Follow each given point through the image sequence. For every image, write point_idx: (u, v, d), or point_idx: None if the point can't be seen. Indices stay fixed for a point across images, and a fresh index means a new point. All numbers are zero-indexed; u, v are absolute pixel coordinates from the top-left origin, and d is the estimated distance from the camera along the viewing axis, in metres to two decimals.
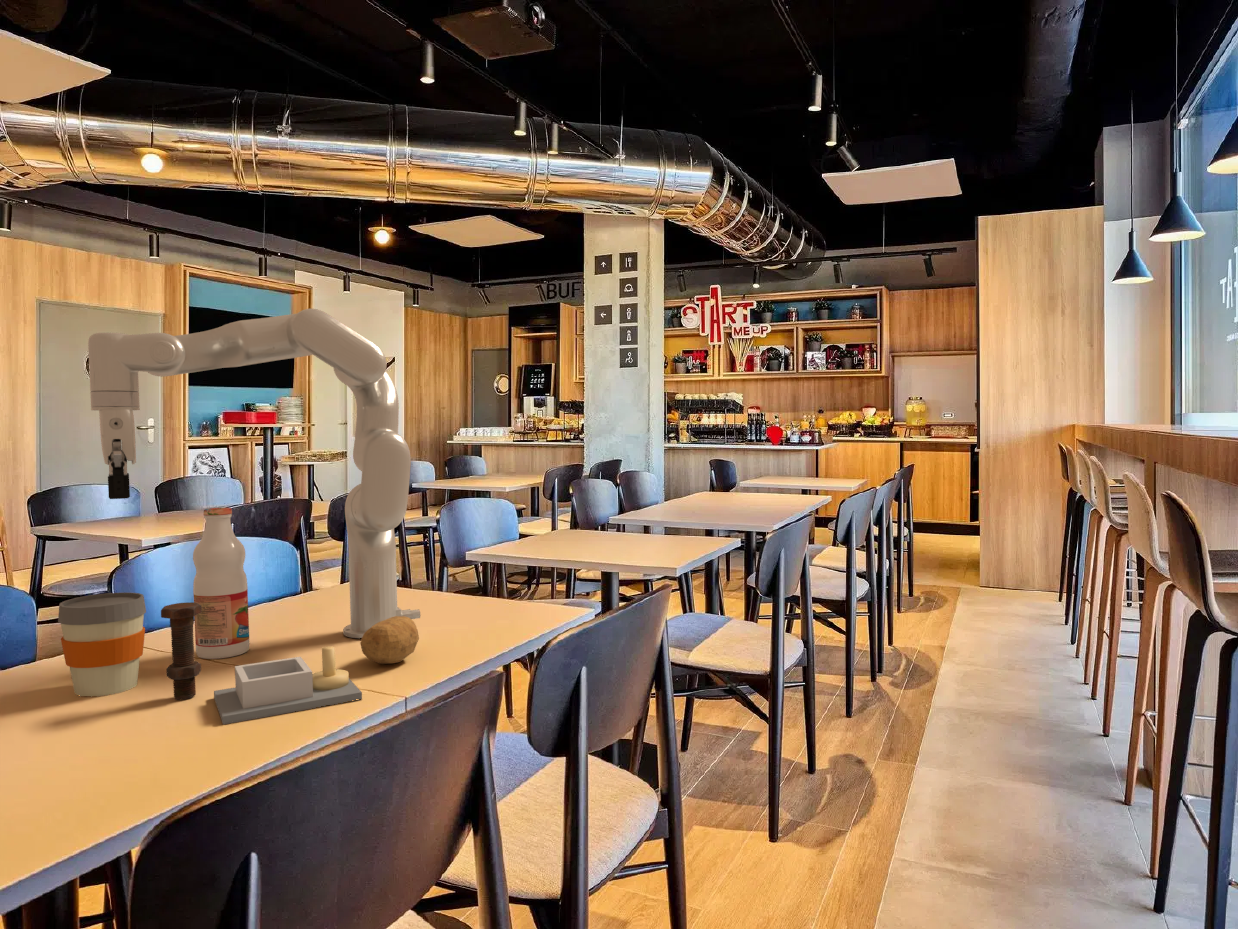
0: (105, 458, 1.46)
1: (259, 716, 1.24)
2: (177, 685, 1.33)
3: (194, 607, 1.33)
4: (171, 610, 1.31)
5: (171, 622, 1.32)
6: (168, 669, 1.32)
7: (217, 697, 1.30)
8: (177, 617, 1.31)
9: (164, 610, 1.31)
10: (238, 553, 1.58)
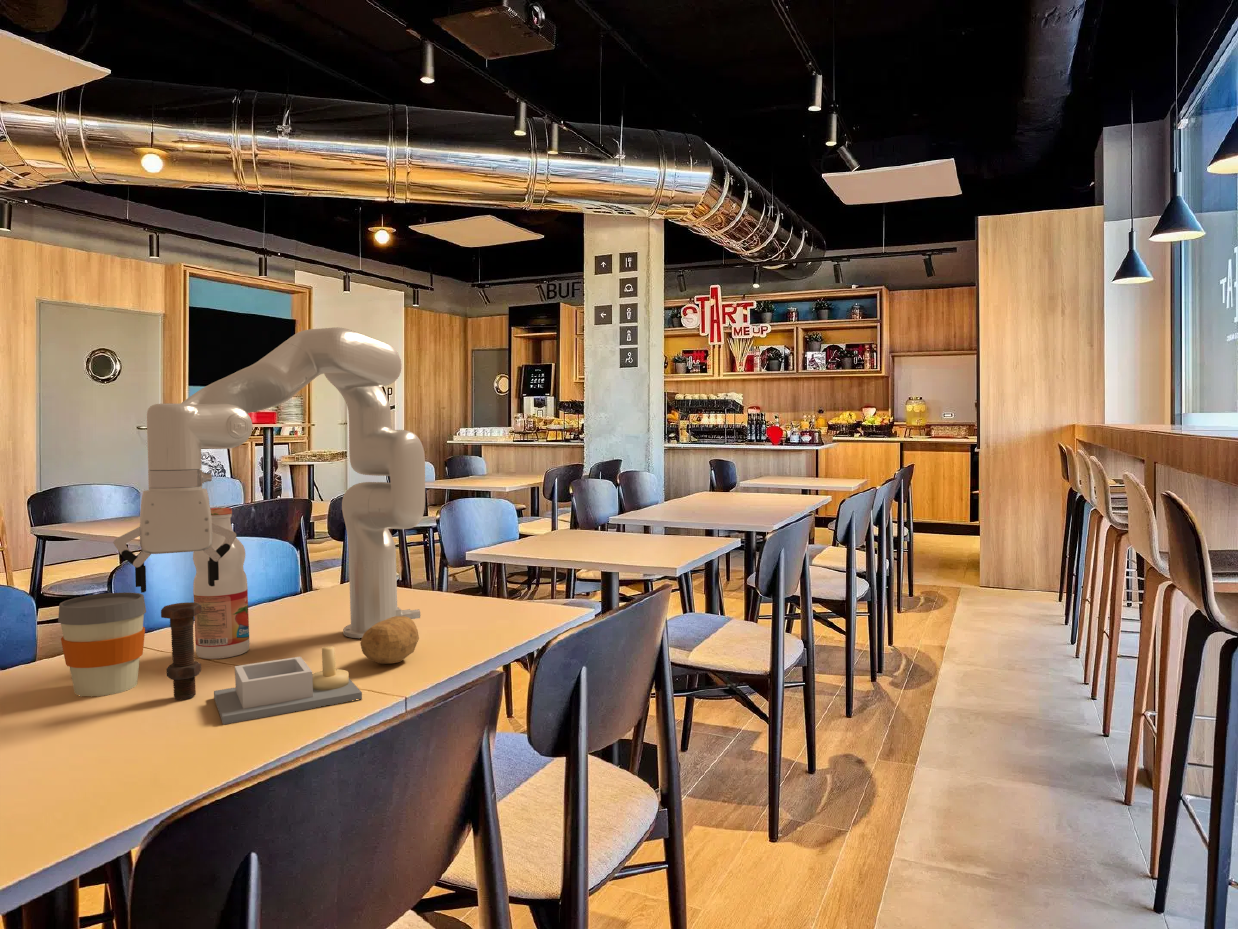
0: (210, 542, 1.33)
1: (259, 716, 1.24)
2: (177, 685, 1.33)
3: (194, 607, 1.33)
4: (171, 610, 1.31)
5: (171, 622, 1.32)
6: (168, 669, 1.32)
7: (217, 697, 1.30)
8: (177, 617, 1.31)
9: (164, 610, 1.31)
10: (238, 553, 1.58)
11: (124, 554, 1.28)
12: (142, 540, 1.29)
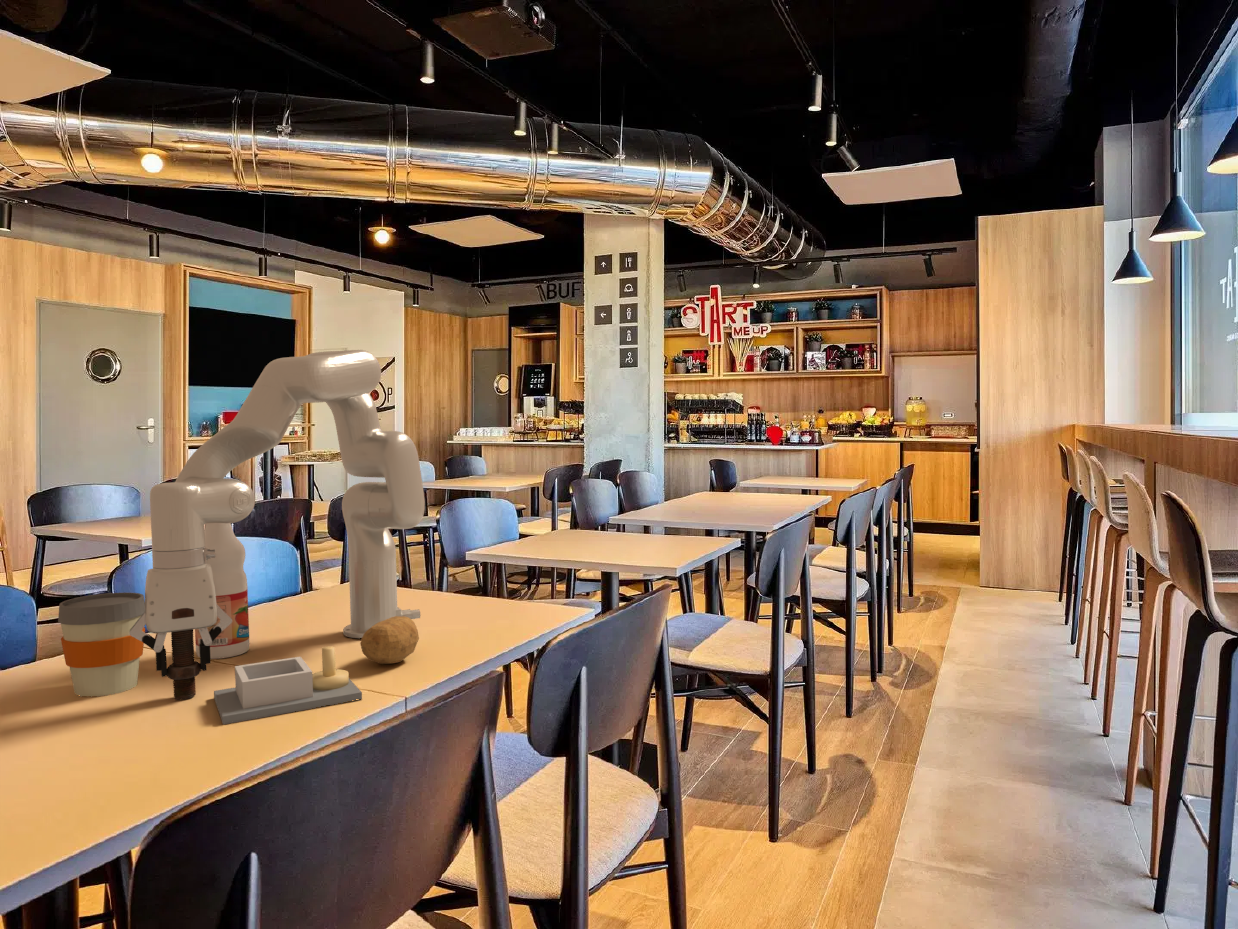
0: (215, 619, 1.34)
1: (259, 716, 1.24)
2: (177, 685, 1.33)
3: None
4: None
5: None
6: (168, 669, 1.32)
7: (217, 697, 1.30)
8: (177, 617, 1.31)
9: None
10: (237, 553, 1.58)
11: (145, 640, 1.30)
12: (147, 620, 1.29)
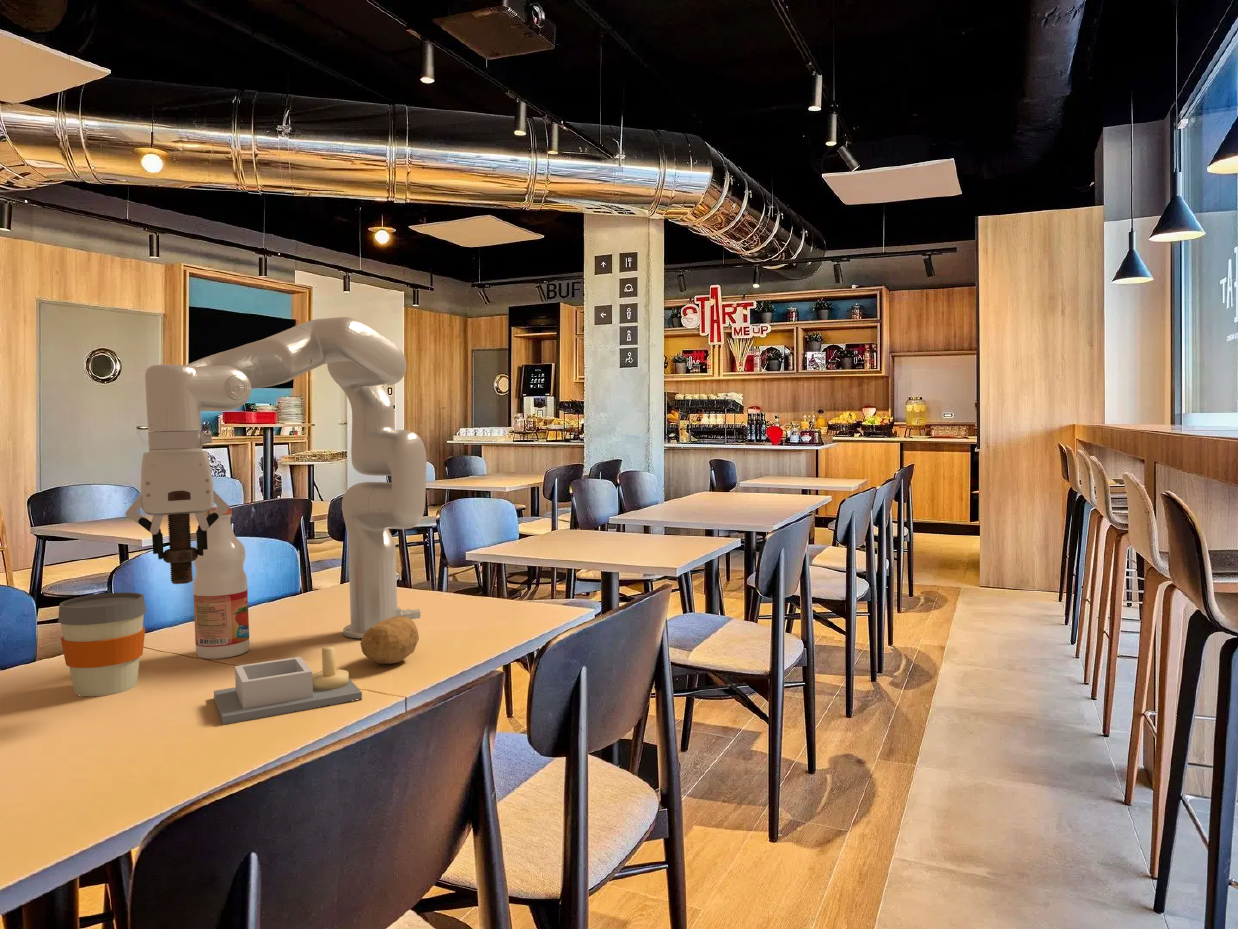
0: (211, 504, 1.33)
1: (259, 716, 1.24)
2: (174, 569, 1.32)
3: None
4: None
5: None
6: (165, 552, 1.31)
7: (217, 697, 1.30)
8: (173, 499, 1.30)
9: None
10: (237, 553, 1.58)
11: (141, 521, 1.29)
12: (143, 501, 1.29)
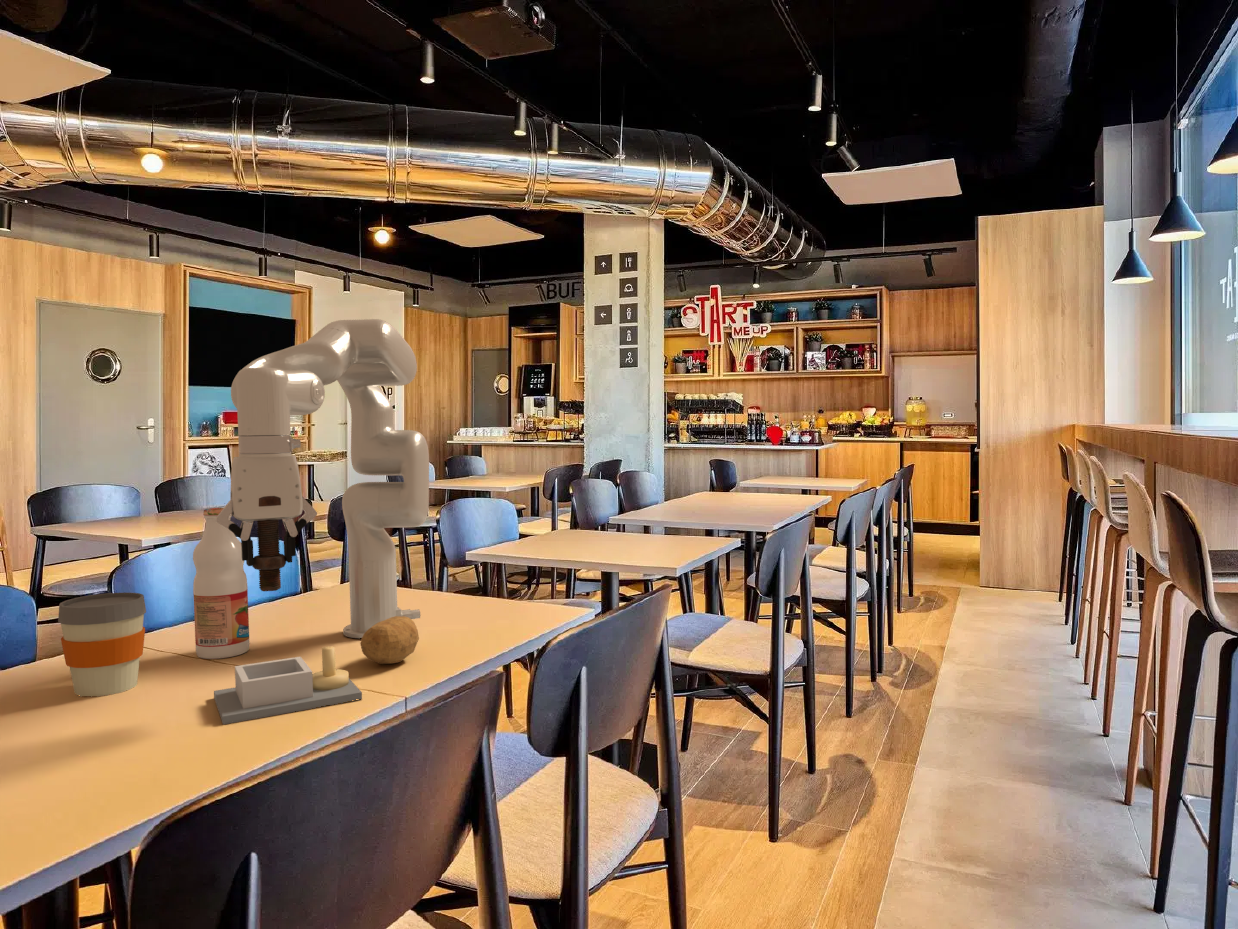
0: (301, 510, 1.31)
1: (259, 716, 1.24)
2: (263, 576, 1.29)
3: None
4: None
5: None
6: (254, 559, 1.29)
7: (217, 697, 1.30)
8: (264, 505, 1.28)
9: None
10: (238, 553, 1.58)
11: (232, 527, 1.27)
12: (235, 507, 1.26)
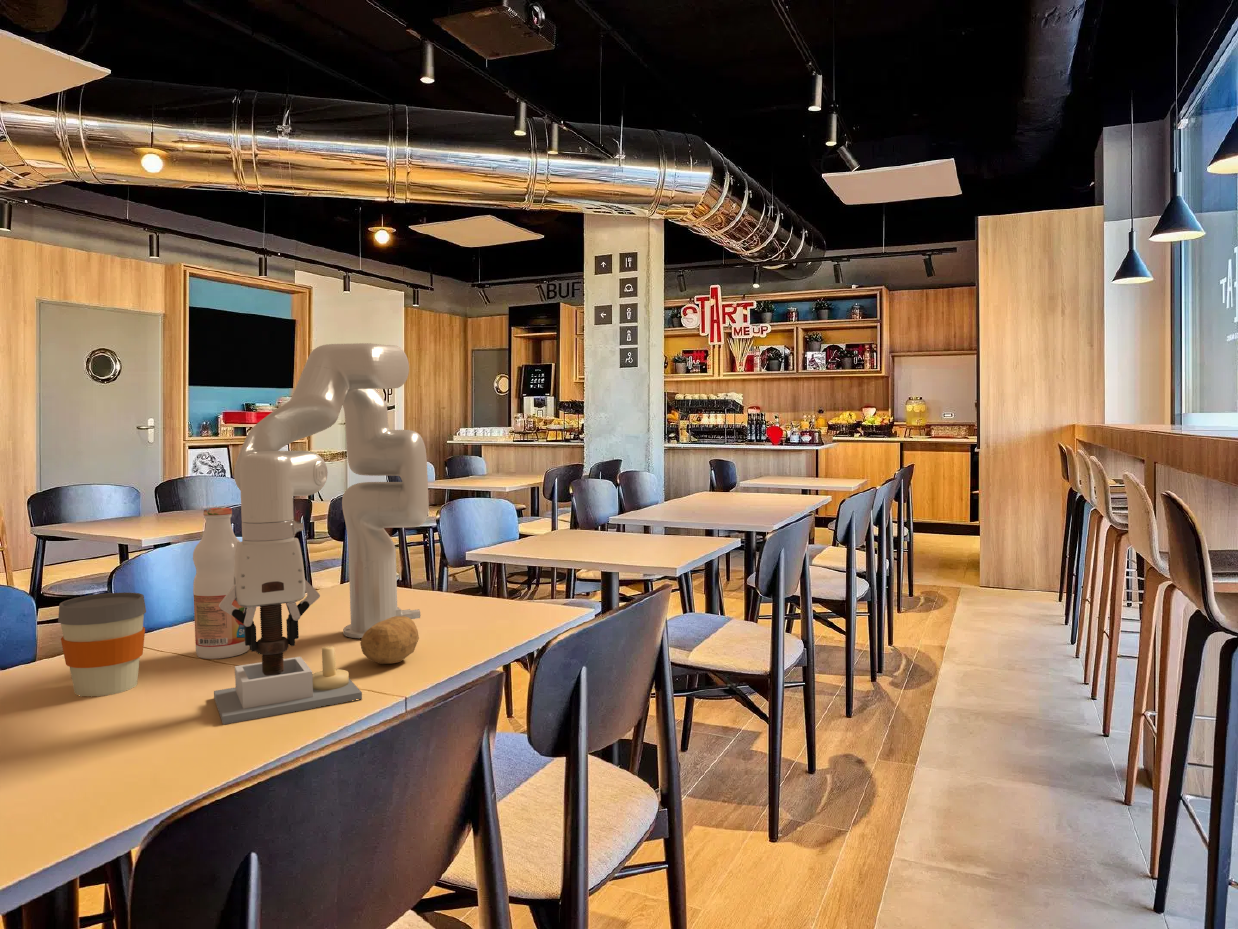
0: (303, 593, 1.32)
1: (259, 716, 1.24)
2: (266, 660, 1.30)
3: None
4: None
5: None
6: (257, 644, 1.30)
7: (217, 697, 1.30)
8: (267, 591, 1.28)
9: None
10: None
11: (235, 614, 1.28)
12: (238, 594, 1.27)
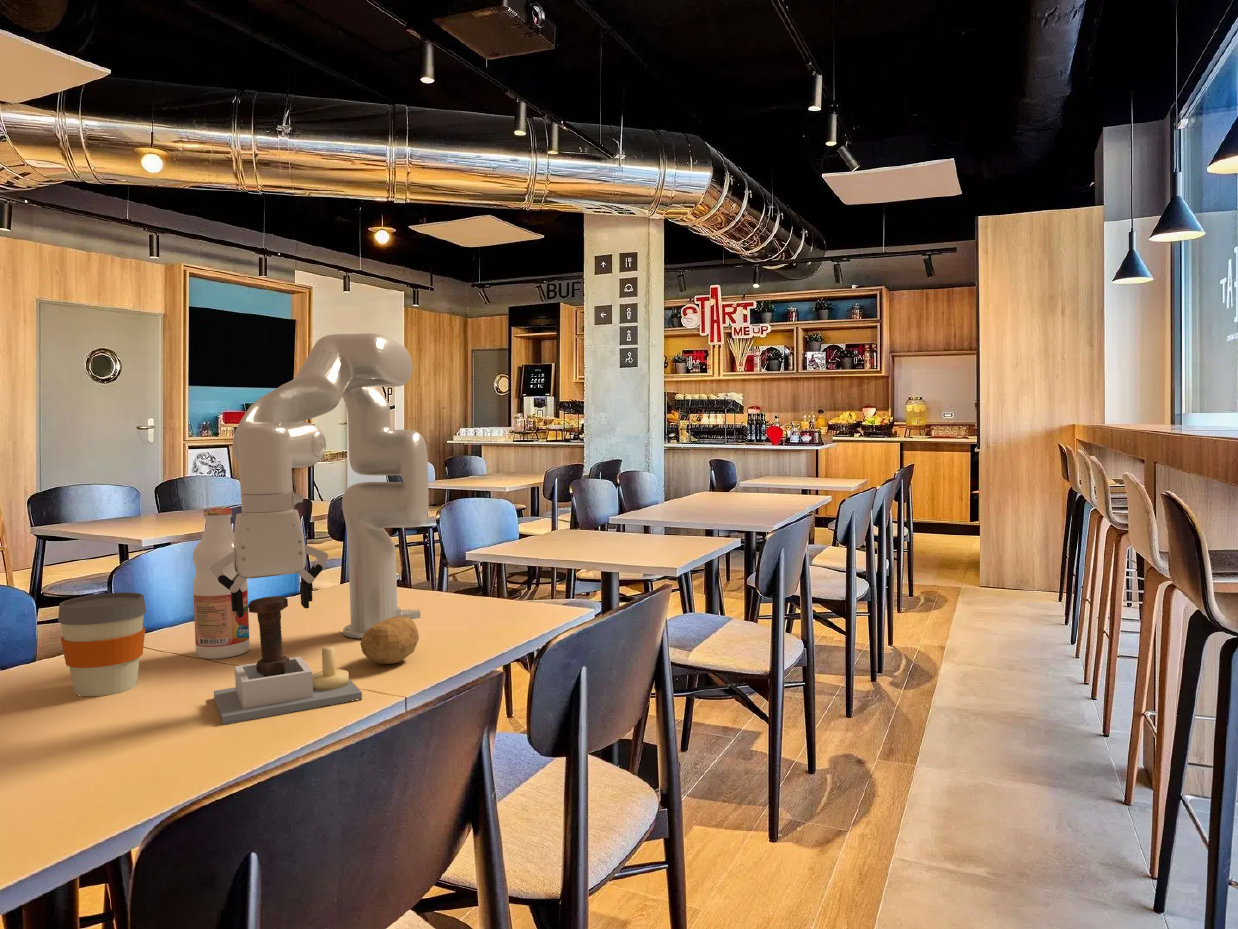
0: (304, 565, 1.32)
1: (259, 716, 1.24)
2: None
3: (282, 601, 1.30)
4: (260, 604, 1.28)
5: (259, 617, 1.30)
6: (258, 664, 1.30)
7: (217, 697, 1.30)
8: (266, 611, 1.28)
9: (252, 605, 1.29)
10: None
11: (221, 580, 1.27)
12: (238, 565, 1.27)
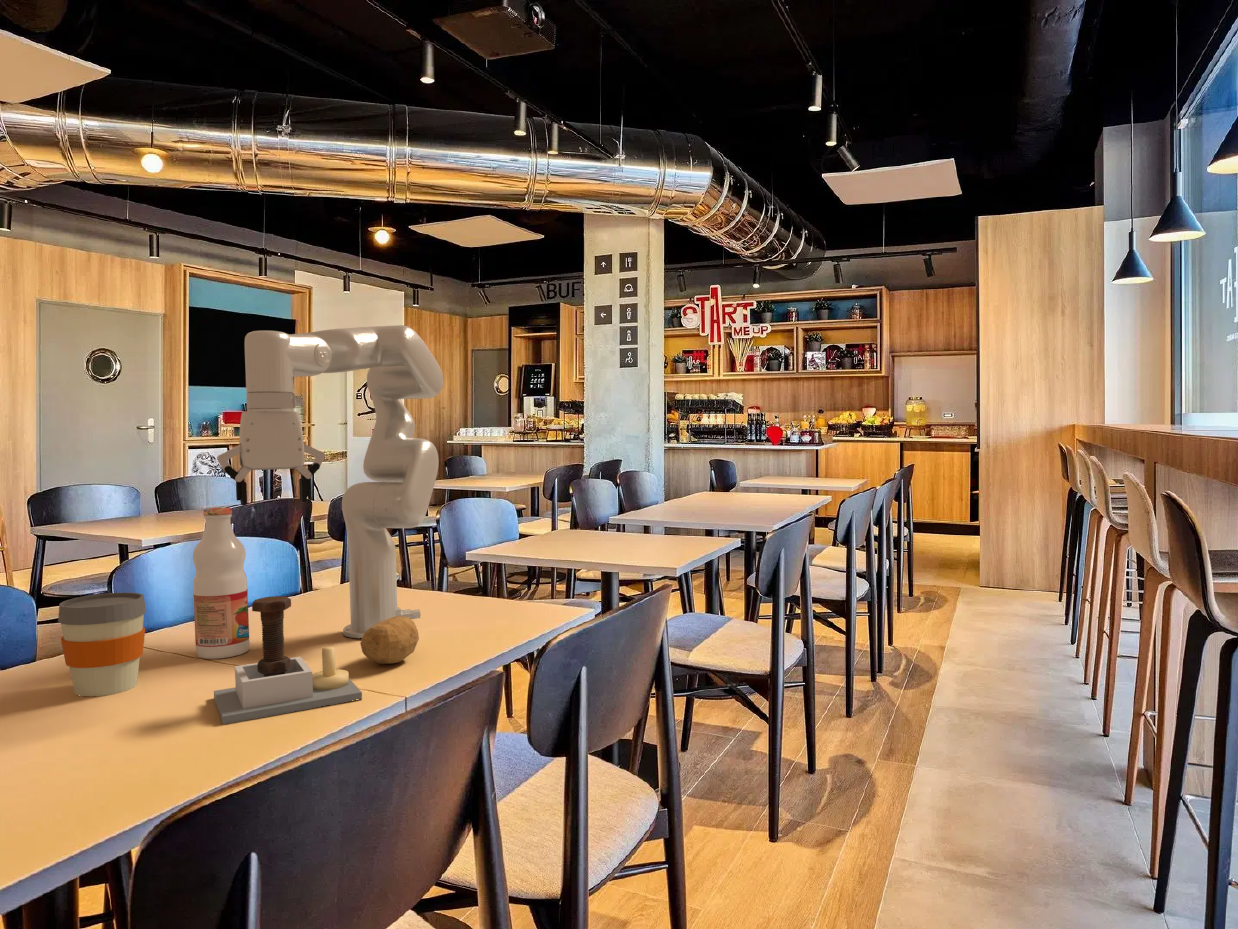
0: (303, 461, 1.44)
1: (259, 716, 1.24)
2: None
3: (285, 600, 1.31)
4: (263, 603, 1.29)
5: (262, 616, 1.30)
6: (259, 664, 1.30)
7: (217, 697, 1.30)
8: (269, 610, 1.29)
9: (256, 604, 1.29)
10: (238, 553, 1.58)
11: (227, 469, 1.39)
12: (243, 456, 1.39)
